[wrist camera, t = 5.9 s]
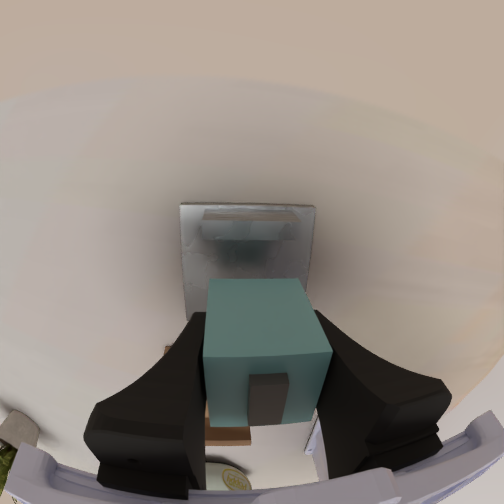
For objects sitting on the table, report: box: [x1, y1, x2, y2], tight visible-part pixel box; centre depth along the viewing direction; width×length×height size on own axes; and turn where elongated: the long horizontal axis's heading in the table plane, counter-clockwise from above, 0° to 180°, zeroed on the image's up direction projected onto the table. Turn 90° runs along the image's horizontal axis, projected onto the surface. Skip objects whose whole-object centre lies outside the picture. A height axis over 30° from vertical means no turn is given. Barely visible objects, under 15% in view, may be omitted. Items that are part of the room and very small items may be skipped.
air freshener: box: [205, 462, 252, 491], centre depth 25 cm, size 11×8×10 cm
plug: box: [203, 278, 333, 427], centre depth 11 cm, size 4×4×6 cm
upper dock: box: [164, 346, 251, 446], centre depth 20 cm, size 8×8×4 cm
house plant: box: [0, 410, 40, 504], centre depth 18 cm, size 14×14×16 cm
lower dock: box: [180, 203, 316, 321], centre depth 17 cm, size 8×8×3 cm
